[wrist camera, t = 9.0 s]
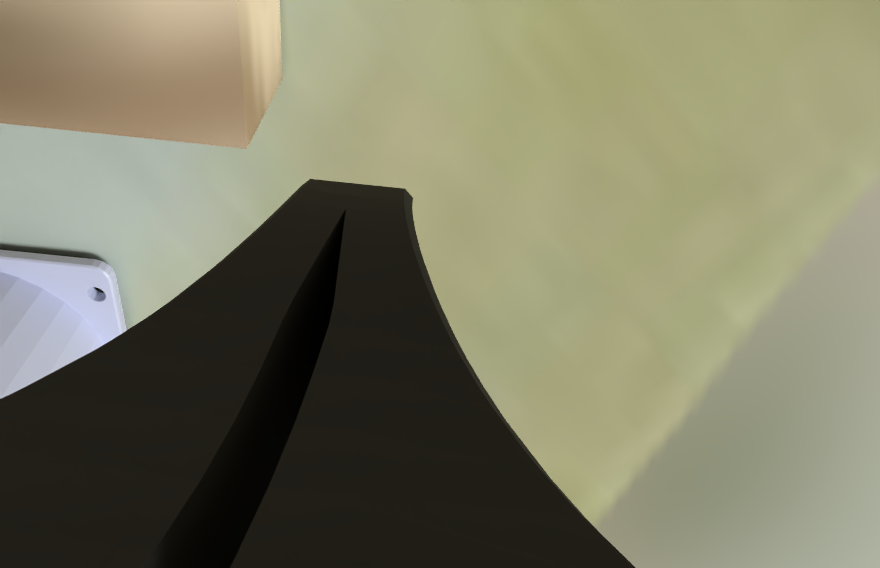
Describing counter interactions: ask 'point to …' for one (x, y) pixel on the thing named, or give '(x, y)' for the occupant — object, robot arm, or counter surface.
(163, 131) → the birch deck
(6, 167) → the counter surface
